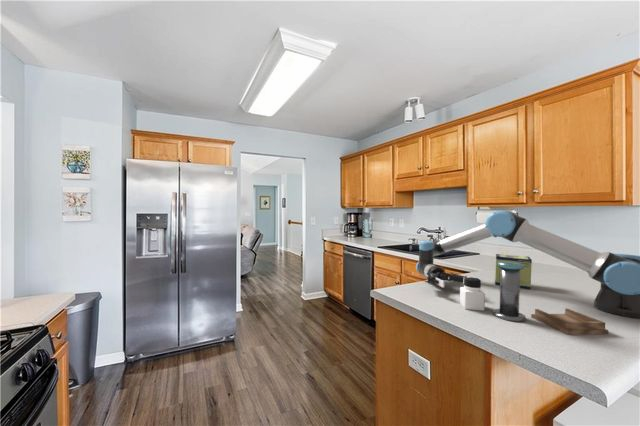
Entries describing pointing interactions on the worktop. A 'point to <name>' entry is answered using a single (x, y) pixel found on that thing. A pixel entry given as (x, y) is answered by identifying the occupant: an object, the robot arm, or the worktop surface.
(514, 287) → the bobbin post
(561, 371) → the worktop surface
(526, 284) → the protein box
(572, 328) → the notched board
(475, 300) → the medicine bottle
